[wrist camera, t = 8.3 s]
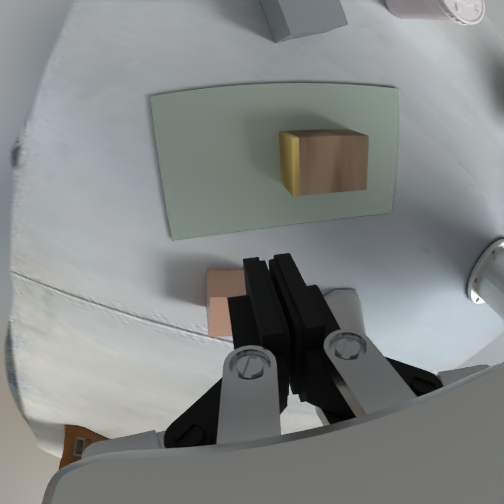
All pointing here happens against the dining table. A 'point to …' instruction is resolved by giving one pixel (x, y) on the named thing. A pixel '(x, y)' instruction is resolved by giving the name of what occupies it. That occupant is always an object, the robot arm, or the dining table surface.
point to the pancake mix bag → (77, 443)
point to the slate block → (302, 17)
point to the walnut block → (323, 161)
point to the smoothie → (438, 10)
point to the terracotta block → (222, 299)
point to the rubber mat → (265, 153)
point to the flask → (346, 309)
